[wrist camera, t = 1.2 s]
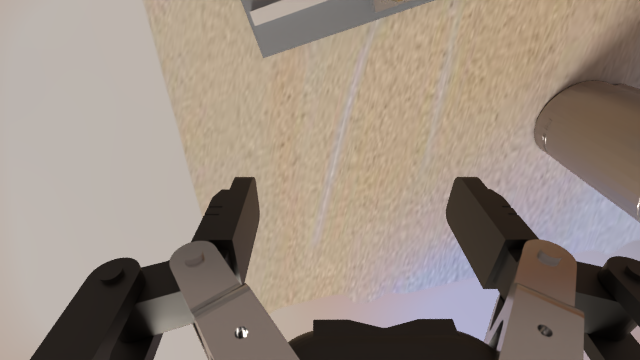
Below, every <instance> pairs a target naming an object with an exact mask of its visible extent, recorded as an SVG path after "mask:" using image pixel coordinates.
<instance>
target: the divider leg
mask: <svg viewBox="0 0 640 360" xmlns="http://www.w3.org/2000/svg"><path fill="white" fill-rule="evenodd" d="M409 1H411V0H370V3H371V8H372V11H374V12H379V11H382V10H385V9H388V8H391V7H394V6H397V5H400V4H403V3H406V2H409Z"/></svg>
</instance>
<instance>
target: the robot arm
mask: <svg viewBox="0 0 640 360" xmlns="http://www.w3.org/2000/svg"><path fill="white" fill-rule="evenodd" d="M534 138H535V141H536V144H537V145H538V146H539V148H540V149H542V150H543V151H544V152H546V153H547V154H548V155H550V156H551V157H552V158H554V159H555V160H556V161H558V162H559V163H560V164H562V165H563V166H564V167H566V168H567V169H568V170H570V171H571V172H572V173H574V174H575V175H576V176H578V177H579V178H580V179H582V180H583V181H584V182H586V183H587V184H588V185H590V186H591V187H593V188H594V189H595V190H597V191H598V192H599V193H601V194H602V195H603V196H605V197H606V198H607V199H609V200H610V201H611V202H613V203H614V204H615V205H617V206H618V207H620V208H621V209H622V210H624V211H625V212H626V213H628V214H629V215H630V216H632V217H633V218H634V219H636V220H637V221H638V222H640V89H637V88H634V87H631V86H628V85H625V84H619V85H612V84H609V83H606V82H603V81H596V80H595V81H586V82H582V83H578V84H576V85H573V86H571V87H569V88H567V89H565V90H564V91H562V92H561V93H559V94H558V95H557V96H555V97H554V98H553V99H552V100H551V101H550V102H549V103H548V104H547V105H546V106H545V107H544V109H543V110H542V112H541V113H540V115H539V117H538V119H537V122H536V124H535V129H534ZM259 216H260V211H259V202H258V195H257V187H256V181H255V178H254V177H235V178H234V180H233V183H232V185H231V188H230V190H221V191H220V192H218V193H217V194H216V195H215V196H214V197H213V198H212V200H211V202H210V204H209V206H208V208H207V210H206V212H205V216H203V218H202V221H201V223H200V225H199V227H198V229H197V231H196V233H195V235H194V237H193V239H192V241H191V243H188V244H185V245H184V246H182V247H180V248H179V249H178V250H176V251H175V252H174V253H173V255H172V257H171V259H170V260H169V261H166V262H162V263H158V264H154V265H150V266H146V267H142V268H141V267H140V265H139V263H138V262H137V261H136V260H135V259H132V258H119V259H114V260H111V261H109V262H106V263H104V264H102V265H101V266H99V267H98V268H96V269H95V270H94V271H93V272H92V273H91V274H90V275H89V276H88V277H87V279H86V280H85V282H84V283H83V285H82V286H81V287H80V289H79V290H78V292H77V293H76V295H75V296H74V297H73V299H72V300H71V302H70V303H69V305H68V306H67V307H66V309H65V310H64V312H63V313H62V315H61V316H60V317H59V319H58V320H57V322H56V323H55V325H54V326H53V327H52V329H51V330H50V332H49V333H48V335H47V336H46V338H45V339H44V340H43V342H42V343H41V345H40V346H39V347H38V349H37V350H36V352H35V353H34V355H33V356H32V357H31V359H30V360H153V359H154V356H155V354H156V351H157V348H158V346H159V343H160V340H161V338H162V335H163V333H164V332H167V331H170V330H173V329H176V328H180V327H183V326H186V325H190V324H192V325H193V327H194V329H195V331H196V333H197V336H198V338H199V340H200V342H201V345H202V347H203V349H204V351H205V354H206V356H207V358H208V360H583V350H584V351H585V352H586V354H587V355H588V357H589V358H590V360H640V344H639V343H638V342H637V341H636V340H635V338H634V337H633V336H632V335H631V333H630V332H631V331H632V330H633V329H634V328H635V327H636V326H637V325H638V326H639V327H640V261H637V260H634V259H631V258H627V257H621V256H616V257H611V258H609V259H608V260H607V262H606V263H605V265H604V266H603V267H600V266H595V265H591V264H586V263H582V262H577V261H576V260H575V259H574V257H573V256H572V255H571V254H570V253H569V252H568V251H567V250H565V249H564V248H562V247H561V246H559V245H557V244H554V243H552V242H549V241H545V240H540V239H539V238H538V237H537V236H536V235H535V234H534V233H533V231H532V230H531V229H530V228H529V227H528V226H527V224H526V223H525V222H524V221H523V220H522V219H521V217H520V216H519V215H517V213H516V212H515V210H514V209H513V208H511V206H510V205H509V203H508V202H507V201H506V200H505V199H504V198H503V197H502V196H501V195H499V194H498V193H496V192H494V191H493V190H491V189H488V188H487V187H486V186H485V185H484V184H483V182H482V181H481V180H480V179H479V178H478V177H457V178H456V179H455V180H454V183H453V187H452V190H451V193H450V197H449V200H448V204H447V208H446V219H447V222H448V224H449V226H450V228H451V230H452V232H453V233H454V235H455V237H456V239H457V241H458V243H459V245H460V246H461V248H462V250H463V252H464V254H465V256H466V258H467V259H468V261H469V263H470V265H471V267H472V269H473V271H474V272H475V274H476V276H477V278H478V280H479V282H480V284H481V285H482V287H483V289H498V291H499V292H500V294H499V296H498V298H497V300H496V304H495V307H494V310H493V314H492V317H491V320H490V323H489V327H488V330H487V333H486V336H485V339H484V342H483V341H481V340H479V339H477V338H475V337H473V336H471V335H468V334H466V333H462V332H459V331H457V330H456V327H455V325H454V322H453V320H452V319H417V320H414V321H410V322H407V323H403V324H400V325H395V326H392V327H388V328H381V327H376V326H372V325H368V324H364V323H360V322H355V321H351V320H314V321H313V331H311V332H307V333H305V334H302V335H300V336H298V337H296V338H294V339H292V340H291V341H289V342H287V341H286V339H285V338H284V336H283V335H282V334H281V332H280V331H279V329H278V328H277V326H276V325H275V323H274V322H273V320H272V319H271V317H270V316H269V315H268V313H267V312H266V310H265V309H264V307H263V306H262V304H261V303H260V302H259V300H258V299H257V297H256V296H255V294H254V293H253V291H252V290H251V289H250V287H249V286H248V285H247V284H246V283H244V282H245V278H246V274H247V270H248V265H249V261H250V257H251V253H252V249H253V245H254V241H255V236H256V232H257V228H258V224H259Z"/></svg>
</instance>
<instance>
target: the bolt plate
mask: <svg viewBox="0 0 640 360" xmlns="http://www.w3.org/2000/svg"><path fill="white" fill-rule="evenodd" d="M431 1H434V0H411V1H409V2H406V3H403V4H400V5H397V6H394V7H391V8H388V9H385V10H382V11H379V12H374V11H372V8H371V3H370V0H241V2H242V4H243V7H244V9H245V12H246V14H247V17H248V20H249V22H250V25H251V27H252V30H253V32H254V35H255V38H256V40H257V43H258V45H259V48H260V51H261V53H262V56H263V58H265V57H268V56H271V55H274V54H277V53H280V52H283V51H285V50H288V49H291V48H294V47H297V46H300V45H303V44H306V43H309V42H312V41H315V40H318V39H321V38H324V37H327V36H330V35H333V34H336V33H339V32H342V31H345V30H348V29H351V28H354V27H357V26H360V25H363V24H366V23H368V22H371V21H374V20H377V19H380V18H383V17H386V16H389V15H392V14H395V13H398V12H401V11H404V10H407V9H410V8H413V7H416V6H419V5H422V4H425V3H428V2H431Z"/></svg>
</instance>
